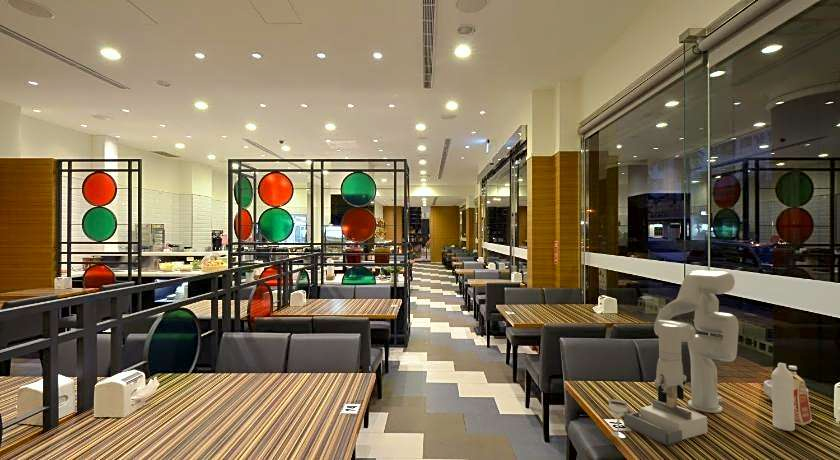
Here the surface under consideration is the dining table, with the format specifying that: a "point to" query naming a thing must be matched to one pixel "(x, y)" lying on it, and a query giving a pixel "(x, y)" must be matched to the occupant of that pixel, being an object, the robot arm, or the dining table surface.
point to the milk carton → (801, 401)
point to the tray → (652, 430)
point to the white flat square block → (675, 421)
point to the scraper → (672, 404)
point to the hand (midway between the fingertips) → (670, 400)
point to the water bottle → (783, 397)
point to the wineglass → (618, 413)
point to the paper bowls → (769, 388)
